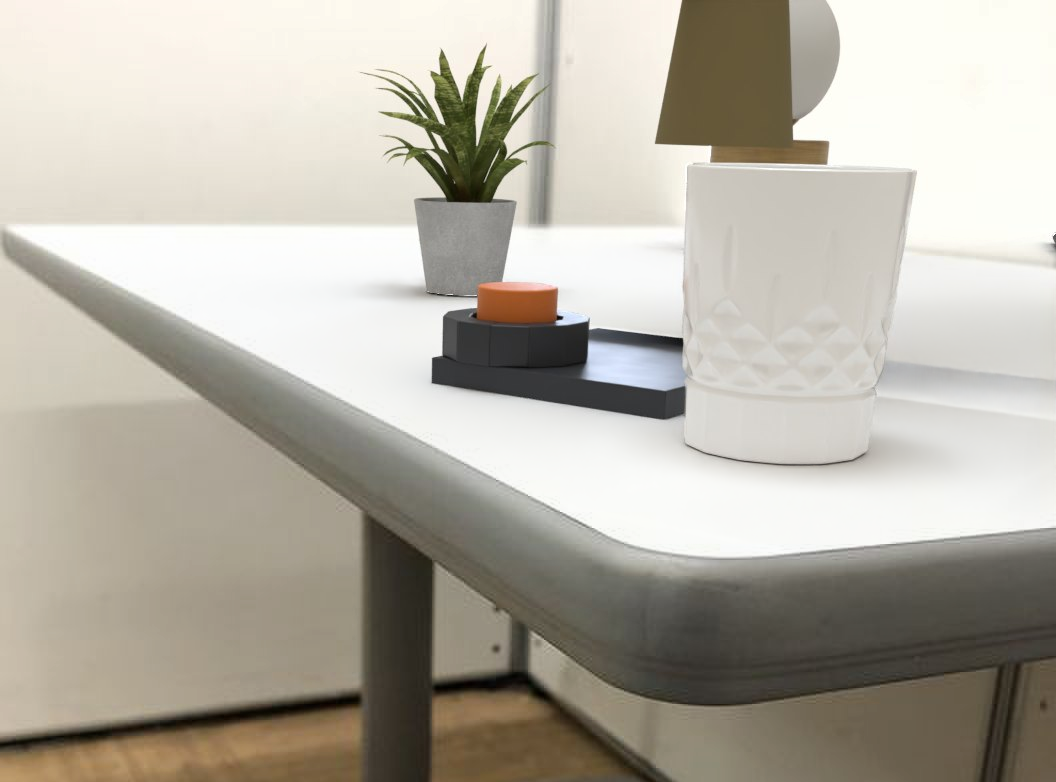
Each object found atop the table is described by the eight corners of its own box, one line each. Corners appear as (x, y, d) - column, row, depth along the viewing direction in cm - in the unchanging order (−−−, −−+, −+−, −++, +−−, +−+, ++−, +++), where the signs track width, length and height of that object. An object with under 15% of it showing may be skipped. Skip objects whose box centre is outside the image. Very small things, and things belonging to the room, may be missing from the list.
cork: (646, 144, 60) (665, -145, 56) (661, 143, 66) (679, -120, 62) (792, 148, 59) (820, -147, 55) (794, 147, 64) (820, -121, 61)
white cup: (624, 442, 53) (640, 162, 49) (745, 417, 58) (767, 162, 55) (807, 481, 47) (839, 170, 44) (922, 449, 53) (958, 169, 49)
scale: (584, 349, 75) (587, 291, 74) (809, 378, 67) (816, 314, 66) (414, 382, 64) (415, 315, 63) (660, 421, 57) (666, 346, 56)
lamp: (760, 262, 127) (787, -42, 119) (640, 249, 137) (658, -32, 129) (854, 254, 137) (885, -27, 129) (736, 243, 147) (757, -18, 138)
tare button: (507, 318, 66) (508, 280, 65) (571, 325, 64) (573, 286, 63) (460, 325, 63) (461, 285, 63) (526, 333, 61) (528, 292, 61)
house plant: (359, 277, 106) (359, 45, 101) (541, 280, 107) (551, 50, 102) (353, 300, 93) (353, 33, 88) (562, 303, 93) (574, 39, 88)
